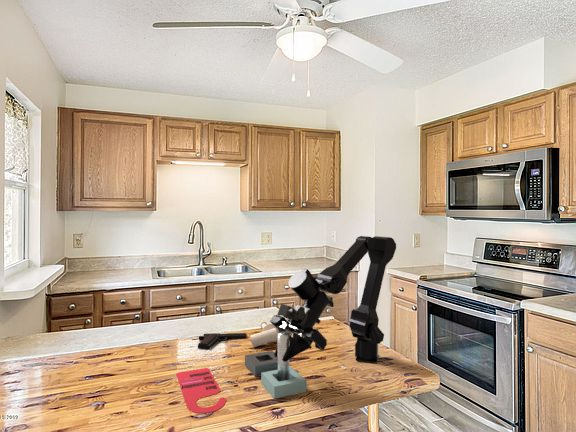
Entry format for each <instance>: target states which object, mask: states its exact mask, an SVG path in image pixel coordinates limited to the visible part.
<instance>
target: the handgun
mask: <svg viewBox="0 0 576 432" xmlns="http://www.w3.org/2000/svg"><path fill="white" fill-rule="evenodd" d="M247 338H248V335H247V333H246V332H236V333H235V332H234V333H233V332H227V333H219V332H217V333H215V332H214V333H204V334H203V335H199V336H198V341H200V342H199V343H197V349H199V350H200V349H202V350H209V351H210V350H211V349H212V348H213V347H214V346H215V345H216V344H218V342H220V343H221V342H227V341H229V340H240V339H241V340H243V339H247Z"/></svg>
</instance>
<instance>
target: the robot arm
mask: <svg viewBox="0 0 576 432" xmlns="http://www.w3.org/2000/svg"><path fill="white" fill-rule="evenodd" d="M396 250H397V243H396V241H395V239H394V238H392V237H390V236H377V235H375V236H373V237H372V236H368V235H367V236H366V235H360V236H358V237H356V239H355V241H354V242H353V244H351V245H350V247H348V249H347V250H346V251H345V253H344V254H343V255H342V256H341V257H340V258H339V259H338V260H337V261H336V262H335V263H333V264H332V265H330V266H328V267H326V268H324V269H323V270H322V271H321V272H319V273H318V274H317V275H316V276H313V275H312V273H311V271H310V270H309V269H307V268H302V270H300V271H298V272H296V273H295V274H293V275H291V276H290V278H289V279H288V286H289V288H290V289H291V291H293V292H294V293H295V294H296V296H298V297H299V299H300V300H301V301H304V302H303V304H302V305H298V304H297V305H295V306H294V307H293V306H290V305H287V304H284V303H282V302H281V303H280V306H279V309H278V312H277V314H275V315H273V316H272V318H271V319H270V320H269V322H270V324H273V325H274V326H275V327H276V328H277V329H278V330H279V332H289V333H290V346H289V348H288V349H287V351H286V353H285V354H284V356H283V358H282V360H283V361H284V362H286V361H288V360H289V359H290V360H291V359H292V358H294V357H296V356H297V355H299V354H301V353H303V352H305V351H307V350H308V349H310V350H311V349H313V348H312V344H313V343H314V347H315V348H316V349H318V350H320V351H322V352H324V350H325V349H326V347H327V345H328V341H327V340H328V339H327V338H326V337H325V336H324V334H322V333H321V332H320V331H319V330H318V329H315V328H314V326H315V324H318V325H319V324H320V323H321V319H320V317H321V316H322V314H323V313H324V311H325V309H326V308H327V307H330V308H334V306H335V305H334V300H333V296H328V295H327V294H331V295H338V294H340V293H341V292H342V291H343V289H344V287H345V286H346V285H347V282H348V276H349V275H350V273H351V272H352V271H353V270H354V268H355V267H356V266H357V265H358V264H359V263H360V261H362V259H363V258H364V257H365V256H366V255H367V254H368V257H369V261H370V262H369V267H368V271H367V275H366V279H365V284H364V288H363V292H362V296H361V300H360V304H359V306H358V307H357V308H356V309H354V308H352V309H351V313H350V318H349V320H348V322H349V329H350V331H351V334H352V337H353V338H356V341H355V344H354V356H355V361H357V362H363V363H364V362H366V363H371V364H377V363H378V361H379V357H380V354H379V345H380V344H381V343H382V342H384V337H385V334H384V332H383V331H382V330H381V329H380V328H379V316H378V312H377V306H378V301H379V298H380V294H381V289H382V284H383V280H384V276H385V270H386V268H387V265H388V264H389V263H390V262H391V261H392V260H393V259H394V256H395V253H396ZM274 352H275V354H274V356H275V357H276V358H277V357H278V343H276V347H275V351H274Z"/></svg>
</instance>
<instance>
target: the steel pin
mask: <svg viewBox="0 0 576 432" xmlns="http://www.w3.org/2000/svg"><path fill="white" fill-rule="evenodd" d="M277 344H278V381H279V382H280V381H285V380H290V367H291V366H290V365H291V364H290V363H291V361H290V360H291V359H289V360H288V361H286V362H284V361H283V360H282V358H283V356H284V354H285V353H286V351H287V349H288V348H289V346H290V333H289V332H278V340H277Z"/></svg>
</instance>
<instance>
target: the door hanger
mask: <svg viewBox="0 0 576 432" xmlns="http://www.w3.org/2000/svg"><path fill="white" fill-rule="evenodd" d="M213 375H214V374H213V373H212V371H211V370H210V368H208V367H203V368H196V369H191V370H185V371H179V372H177V373H175V376H176V377H177V381H178V384H179V387H180V390H181V393H182V396H183V399H184V403H185V406H186V408H188V409H189V410H188V409H187V410H188V411H190V412H191V411H192V412H191V413H194V414H208V413H209V414H211V413H213V412H217V411H219V410H221V409H222V408H223V407H224V406H225V405H226V403H227V399H226V398H225V397H220V398H219V399H218V401H217V403H216V404H214V405H211V406H205V407H203V406H201V405H200V406H199V405H198V404H197V401H198V400H199V398H200V399H204V398H207V397H211V396H215V395H217V394H219V393H220V392H221V388H220V387H219V384H218V383H217V380H216V379H215V377H214V376H213ZM203 397H204V398H203Z"/></svg>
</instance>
